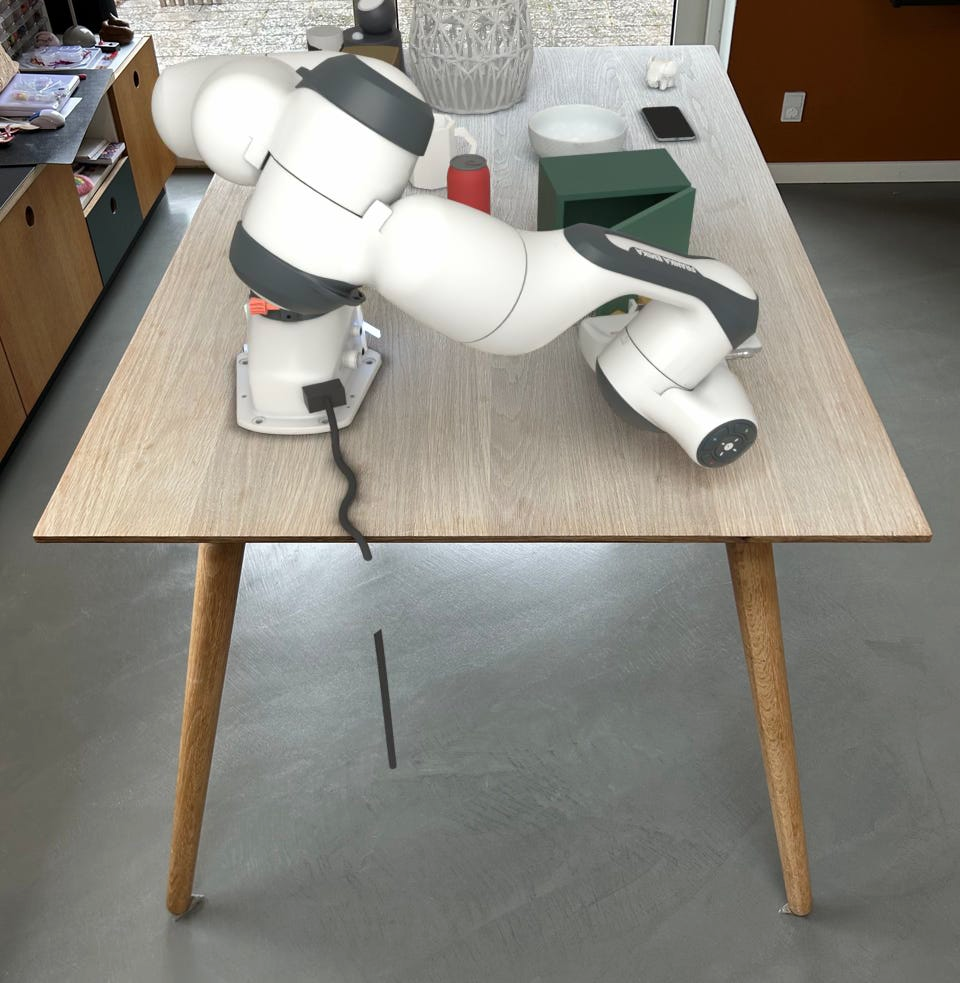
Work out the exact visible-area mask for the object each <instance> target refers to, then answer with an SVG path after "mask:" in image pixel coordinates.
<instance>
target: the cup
mask: <svg viewBox="0 0 960 983" xmlns="http://www.w3.org/2000/svg"><path fill="white" fill-rule="evenodd" d="M343 31H344V30H343V28H342V27H340V26H336V25H317V26H313V27H310V28H308V29H306V31H305V36H306V45H307V51H323V50H329V51H336V52H341V51H342V50H343V48H344V41H343Z"/></svg>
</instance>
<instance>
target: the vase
mask: <svg viewBox="0 0 960 983" xmlns="http://www.w3.org/2000/svg"><path fill="white" fill-rule="evenodd" d="M433 1H434V3H433V2H431V1H428V0H414V1H413V7H412V13H411V18H410V26H409V35H408V56H409V62H410V63H409V65H410V69H411V72H412V75H413V78H414V81H415V85H416V87H417V88H418V90H419V91H420V93H421V94H422V96H423V98H424V100H425V102H427V103H428V104H429V105H430V106H431V109H435V110H437V111H440V112H443V113H450V114H455V115H457V114H458V115H488V114H492V113H496V112H498V111H499V112H500V111H504V110H508V109H510V108H511V107H513V106H514V105H516V104H518V103H519V102H521V101H522V97H523V93H524V91H525V89H526V87H527V84H528V82H529V80H530V76H531V71H532V68H533V64H534V54H535V52H534V34H533V24H532V20H531V16H530V11H529V7H528V0H509V1H508V0H492V1H491V0H486V1H487V4H488V5H487V4H486V3H485V2H484V0H457V1H458V3H459V6H458V5H457V3H456V2H455V1H454V0H433ZM475 5H477V6H475ZM484 10H485V11H484ZM453 11H455V12H453ZM500 11H503V12H502V13H501V14H500ZM436 12H437V15H435V14H436ZM444 12H445V13H447V14H448V15H446V16H445V17H443V14H444ZM428 14H429V15H430V17H428ZM472 14H473V15H476V16H474V17H473V18H471V17H472ZM499 15H500V16H499ZM521 16H522V17H521ZM505 17H507V20H505V19H504V18H505ZM423 18H424V22H423ZM428 18H429V20H428ZM522 18H523V19H522ZM474 23H481V24H480V25H479V27H478V28H477V29H476V30H475V29H474V27H472V25H473V24H474ZM444 24H446V25H451V27H450V28H449V29H448V30H447V31H446V28H445V27H444ZM502 24H504V25H505V26H507V27H509V28H508V30H506V29H505V28H504V26H503V25H502ZM458 26H460V27H461V28H462V29H461V30H460V31H459V32H458V33H457V27H458ZM487 27H490V28H491V29H490V30H489V32H488V34H487ZM465 38H466V43H467V56H464V44H465ZM453 39H454V40H453ZM482 39H483V40H482ZM515 39H516V40H515ZM489 41H490V44H489V45H490V46H489V49H488V43H489ZM437 43H438V49H439V53H438V52H437ZM495 43H496V44H495ZM502 43H503V46H504V50H503V52H502V53H500V47H501V44H502ZM446 45H447V47H448V51H447V48H446ZM495 45H496V47H495ZM472 47H473V48H472ZM494 48H495V49H494ZM455 49H456V50H455ZM494 50H495V54H494ZM473 51H474V54H475V57H474V56H473ZM522 55H523V57H522ZM500 58H502V61H501V65H500V66H501V67H500V68H499V63H500ZM424 60H425V62H424ZM439 60H440V63H441V65H440V63H439ZM493 61H494V62H493ZM464 62H467V63H468V70H469V71H468V70H467V69H466V68H465V67H464ZM474 63H476V64H475V65H474ZM483 66H484V67H485V68H484V74H483V69H482V67H483Z"/></svg>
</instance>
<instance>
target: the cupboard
mask: <svg viewBox="0 0 960 983" xmlns="http://www.w3.org/2000/svg"><path fill="white" fill-rule="evenodd" d="M537 170H538V172H537V211H536V212H537V215H536V231H553V230H560V229H565V228H566V227H569V226H572V225H575V224H578V223H586V224H592V225H596V226H600V227H604V228H608V229H610V228H611V227H613V226H615V225H617V224H619V223H621V222H623V221H625V220H627V219H629V218H631V217H633V216H635V215H636V214H638V213H640V212H642V211H644V210H646V209H648V208H650V207H652V206H654V205H656V204H658V203H660V202H661V201H663V200H665V199H667V198H669V197H671V196H673V195H675V194H677V193H679V192H681V191H683V190H684V189H686V188H688V187H692V183H691V181H690V180H689V178H688V177H687V175H686V174H685V172H684V171H682V168H680V166H679V164H678V163H677V162H676V161H675V159H674V158H673V157H672V155H671V154H670V153H669V151H668V150H667V149H666V148H665V147H662V148H661V147H659V148H648V149H647V148H645V149H635V150H620V151H619V152H607V153H594V154H581V155H568V156H555V157H539V158H538V169H537Z"/></svg>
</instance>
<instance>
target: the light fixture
mask: <svg viewBox="0 0 960 983" xmlns="http://www.w3.org/2000/svg"><path fill="white" fill-rule="evenodd" d="M355 18H356V22H357V23H358V25H355V26H350V27H348V28H346V29H344V30H342V31H343V41H344V47H352V46H390V47H399V61H400V63H399V70H400V71H401V72H403V73H404V74H405V75H406V76H407V74H406V64H405V57H404V46H403V40H402V39H403V38H402V32H401V29H399V28H397V27H394V26H395V24H396V20H397V10H396V6H395V4H394V2H393V1H392V0H359V1H358V3H357V4H356V8H355Z"/></svg>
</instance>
